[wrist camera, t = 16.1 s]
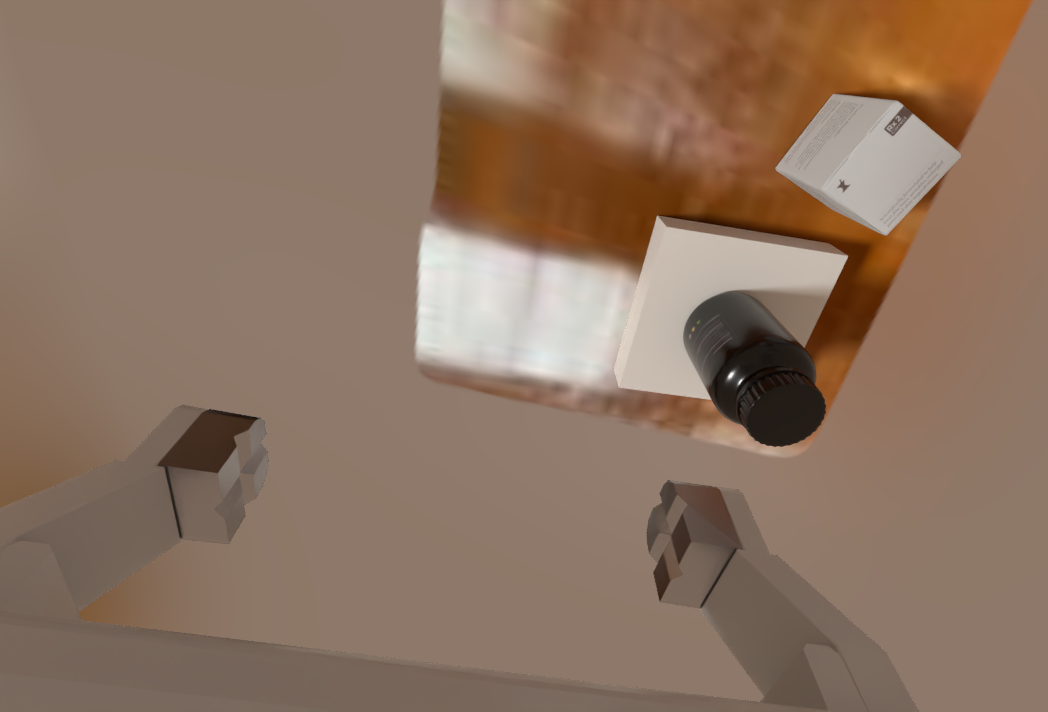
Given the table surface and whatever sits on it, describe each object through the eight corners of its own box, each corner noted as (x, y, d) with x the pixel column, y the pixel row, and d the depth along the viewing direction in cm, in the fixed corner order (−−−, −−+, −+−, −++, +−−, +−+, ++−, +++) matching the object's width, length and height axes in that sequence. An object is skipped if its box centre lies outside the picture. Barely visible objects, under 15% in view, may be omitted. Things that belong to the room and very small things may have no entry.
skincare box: (830, 209, 42) (887, 239, 35) (771, 168, 40) (819, 191, 34) (894, 137, 39) (967, 155, 33) (833, 89, 37) (898, 98, 31)
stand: (657, 215, 42) (666, 226, 39) (828, 243, 43) (848, 255, 40) (613, 369, 48) (618, 387, 46) (762, 389, 50) (775, 408, 47)
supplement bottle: (784, 303, 42) (870, 387, 32) (740, 374, 45) (805, 472, 35) (704, 277, 41) (766, 356, 31) (665, 352, 44) (709, 446, 34)
